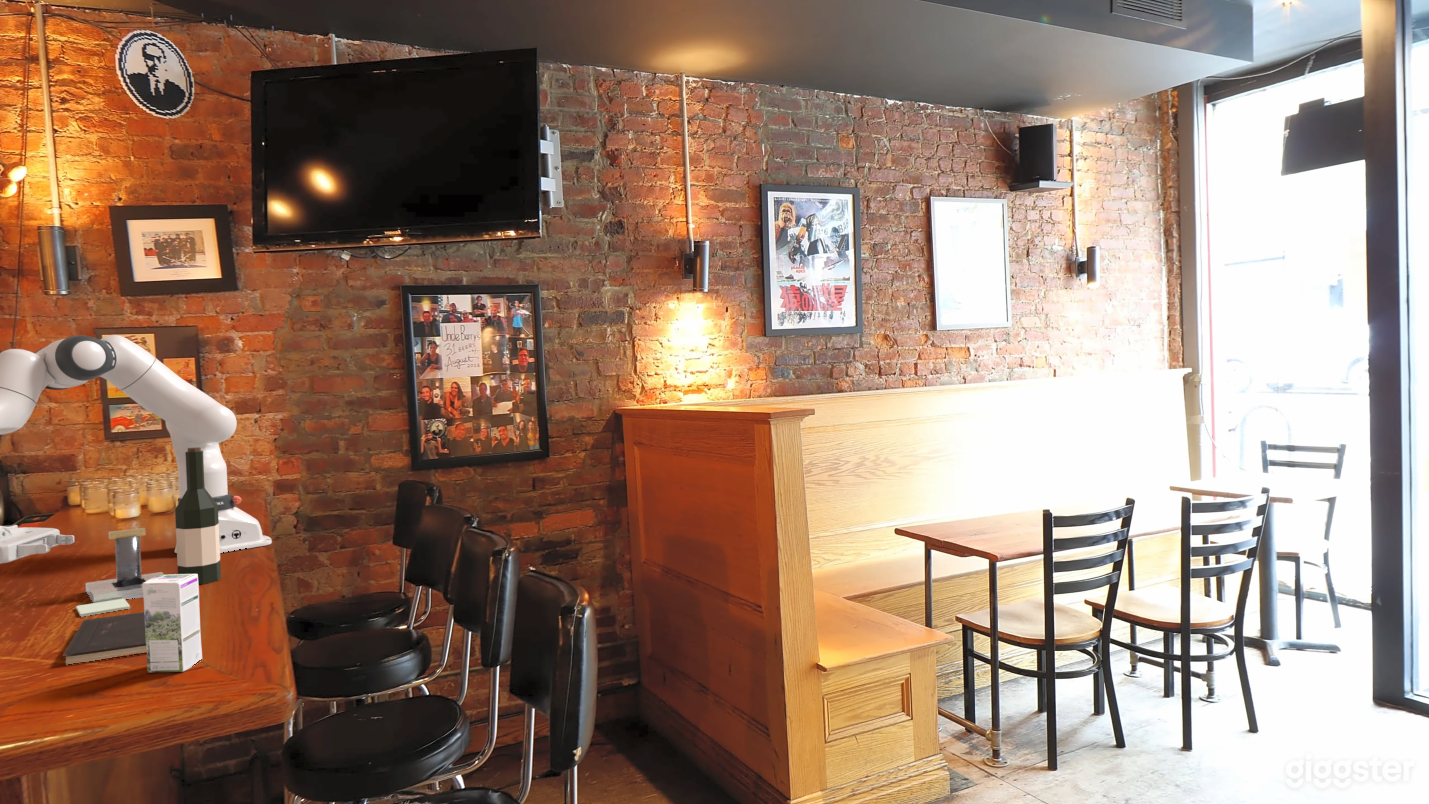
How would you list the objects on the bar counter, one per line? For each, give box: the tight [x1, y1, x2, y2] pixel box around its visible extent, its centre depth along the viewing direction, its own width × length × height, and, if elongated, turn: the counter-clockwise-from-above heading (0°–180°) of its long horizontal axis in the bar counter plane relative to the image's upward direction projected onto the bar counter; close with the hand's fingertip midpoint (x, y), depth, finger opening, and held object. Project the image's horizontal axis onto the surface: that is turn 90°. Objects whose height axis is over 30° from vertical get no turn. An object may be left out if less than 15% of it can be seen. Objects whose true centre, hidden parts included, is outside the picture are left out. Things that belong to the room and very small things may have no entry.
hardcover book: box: [62, 611, 147, 666], centre depth 154 cm, size 16×23×2 cm
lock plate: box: [85, 571, 166, 603], centre depth 186 cm, size 14×14×2 cm
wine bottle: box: [174, 447, 222, 585], centre depth 195 cm, size 8×8×30 cm
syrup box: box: [142, 573, 203, 674], centre depth 138 cm, size 6×6×14 cm
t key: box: [108, 527, 146, 588], centre depth 186 cm, size 6×4×13 cm
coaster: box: [75, 598, 131, 618], centre depth 174 cm, size 8×8×1 cm
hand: (60, 543), depth 183 cm, fingers open, 8 cm apart
